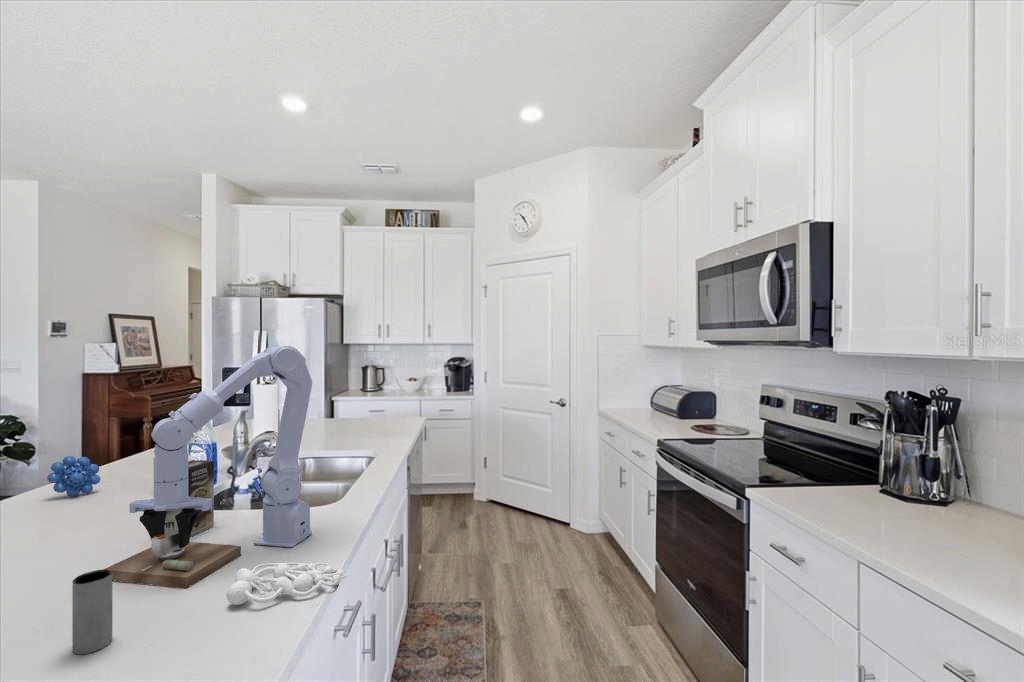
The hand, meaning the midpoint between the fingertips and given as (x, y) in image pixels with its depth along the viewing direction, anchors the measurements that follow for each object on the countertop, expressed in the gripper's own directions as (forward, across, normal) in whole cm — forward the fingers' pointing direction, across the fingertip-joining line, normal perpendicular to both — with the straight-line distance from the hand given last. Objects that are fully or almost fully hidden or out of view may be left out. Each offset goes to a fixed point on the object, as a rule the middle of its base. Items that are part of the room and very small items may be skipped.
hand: (171, 546), depth 99 cm
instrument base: (+4, +1, 0) cm, 4 cm away
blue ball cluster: (+4, -54, +48) cm, 72 cm away
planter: (+4, +4, -26) cm, 26 cm away
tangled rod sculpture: (+5, +26, -10) cm, 28 cm away
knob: (+2, 0, 0) cm, 2 cm away
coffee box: (+4, -7, +18) cm, 20 cm away
